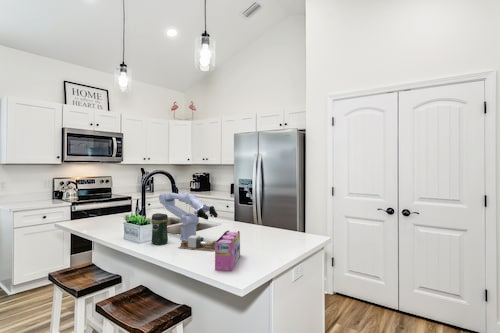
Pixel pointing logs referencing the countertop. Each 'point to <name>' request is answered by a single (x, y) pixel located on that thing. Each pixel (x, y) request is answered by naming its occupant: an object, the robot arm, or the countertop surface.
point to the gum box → (227, 251)
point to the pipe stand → (203, 248)
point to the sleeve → (193, 241)
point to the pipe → (200, 243)
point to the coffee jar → (159, 228)
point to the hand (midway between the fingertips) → (212, 217)
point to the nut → (199, 242)
